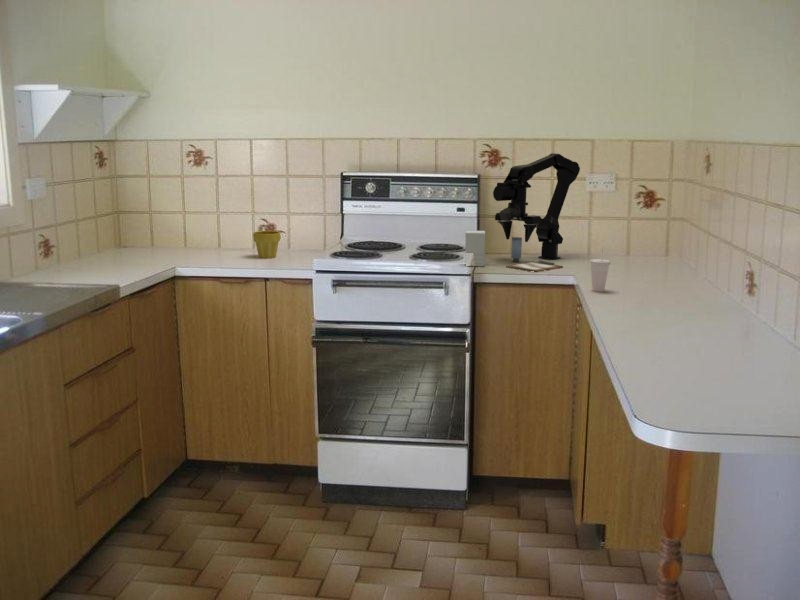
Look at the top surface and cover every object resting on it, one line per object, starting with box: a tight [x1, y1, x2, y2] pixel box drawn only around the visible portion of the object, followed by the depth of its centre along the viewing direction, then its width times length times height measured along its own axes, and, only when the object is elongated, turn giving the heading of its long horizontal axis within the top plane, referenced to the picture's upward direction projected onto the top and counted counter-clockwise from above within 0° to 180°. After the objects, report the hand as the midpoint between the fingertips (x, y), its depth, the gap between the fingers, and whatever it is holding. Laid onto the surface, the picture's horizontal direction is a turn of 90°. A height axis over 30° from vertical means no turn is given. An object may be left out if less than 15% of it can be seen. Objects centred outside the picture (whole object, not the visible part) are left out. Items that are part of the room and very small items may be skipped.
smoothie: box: [589, 246, 611, 293], centre depth 265 cm, size 6×6×14 cm
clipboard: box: [505, 260, 564, 273], centre depth 308 cm, size 16×14×1 cm
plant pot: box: [252, 230, 281, 259], centre depth 325 cm, size 10×10×10 cm
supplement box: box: [464, 229, 486, 267], centre depth 312 cm, size 7×7×13 cm
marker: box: [510, 236, 523, 263], centre depth 320 cm, size 4×4×9 cm
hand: (517, 240), depth 320 cm, fingers open, 9 cm apart
